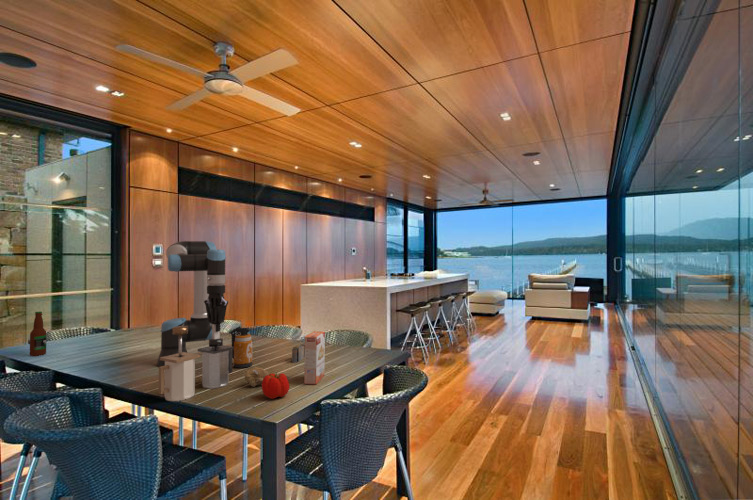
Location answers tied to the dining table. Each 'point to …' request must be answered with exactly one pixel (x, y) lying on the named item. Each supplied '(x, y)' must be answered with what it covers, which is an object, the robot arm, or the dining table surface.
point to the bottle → (38, 337)
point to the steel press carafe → (216, 366)
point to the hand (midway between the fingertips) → (215, 338)
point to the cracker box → (314, 357)
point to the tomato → (275, 385)
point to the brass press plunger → (180, 335)
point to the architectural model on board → (298, 353)
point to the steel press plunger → (215, 342)
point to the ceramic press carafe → (178, 376)
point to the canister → (241, 347)
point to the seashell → (255, 376)
